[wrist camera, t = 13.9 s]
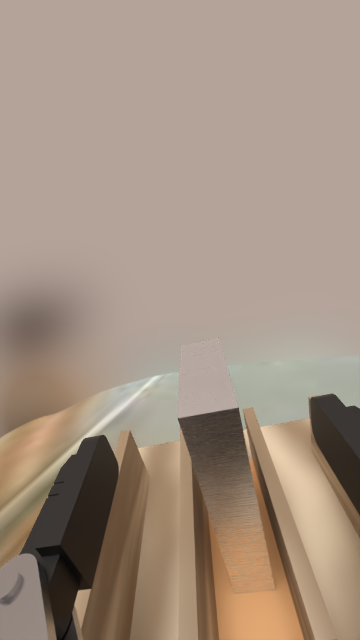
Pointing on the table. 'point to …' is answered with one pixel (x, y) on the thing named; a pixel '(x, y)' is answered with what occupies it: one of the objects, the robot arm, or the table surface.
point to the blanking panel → (222, 463)
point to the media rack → (205, 555)
